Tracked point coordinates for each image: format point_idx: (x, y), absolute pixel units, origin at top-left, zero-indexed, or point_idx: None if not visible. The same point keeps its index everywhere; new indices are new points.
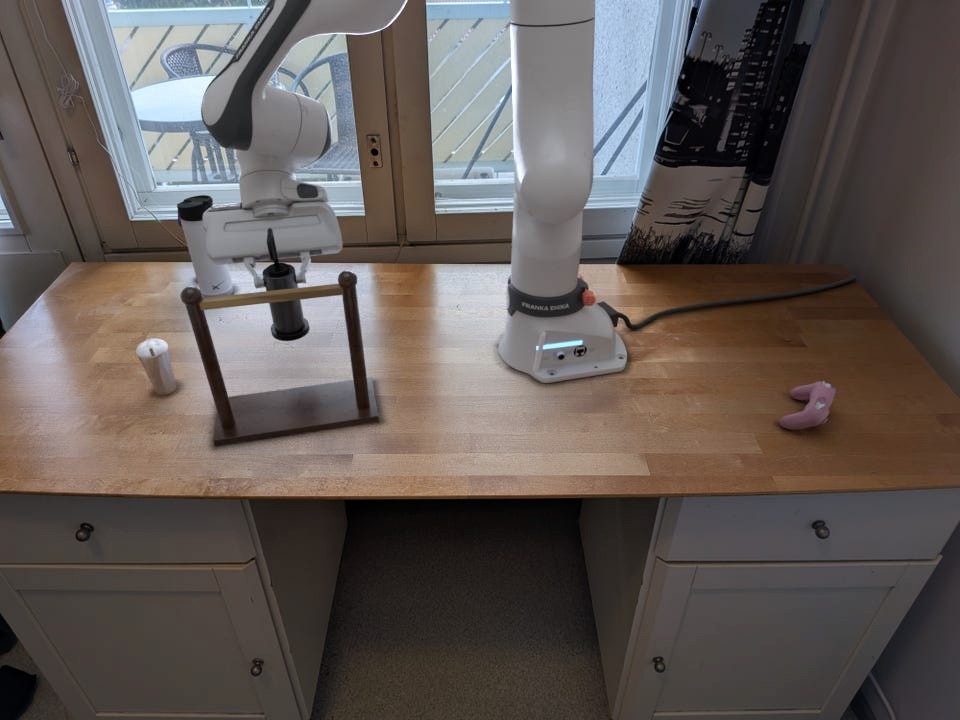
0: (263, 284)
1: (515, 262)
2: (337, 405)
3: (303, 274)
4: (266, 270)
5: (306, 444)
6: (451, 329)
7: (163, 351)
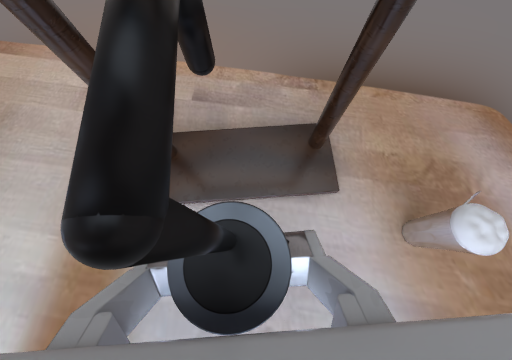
0: (285, 232)
1: None
2: (198, 156)
3: None
4: (277, 274)
5: (234, 117)
6: (3, 331)
7: (453, 215)
